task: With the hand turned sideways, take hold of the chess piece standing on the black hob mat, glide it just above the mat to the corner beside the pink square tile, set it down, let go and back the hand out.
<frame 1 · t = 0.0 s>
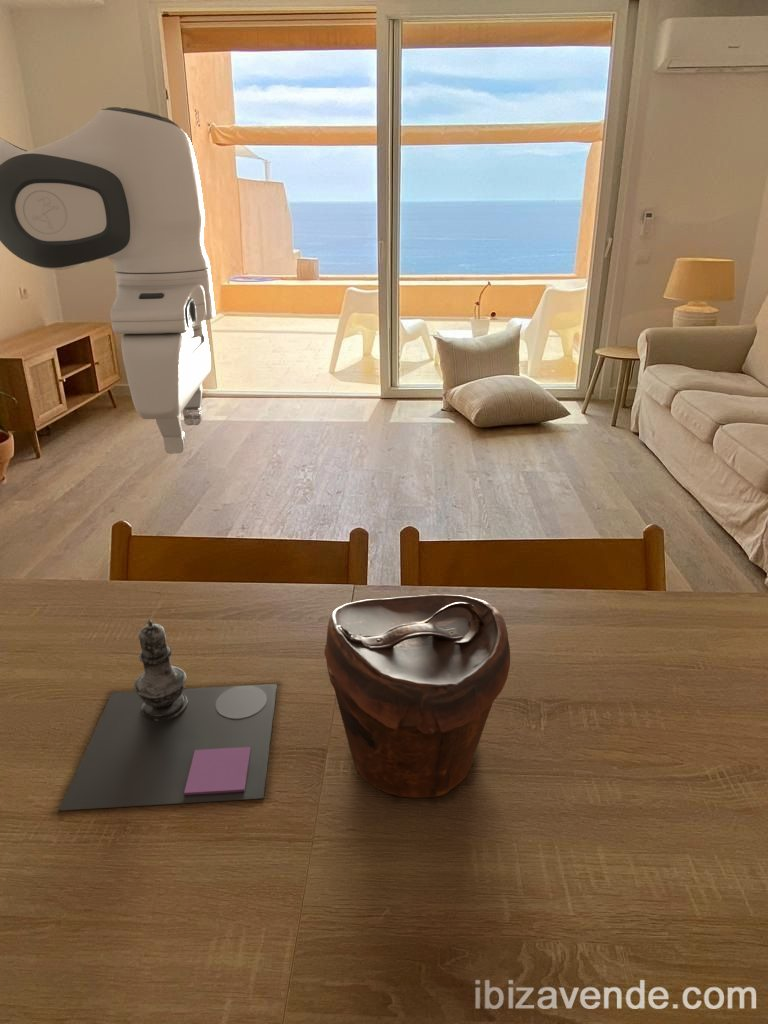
hand: (185, 436, 73), 32 cm above the table, tool pointing down, fingers open, 8 cm apart
brown pot: (417, 754, 75), on the table
pink square tile: (218, 771, 73), resting on hob mat
chess piece: (164, 706, 82), resting on hob mat
hob mat: (180, 740, 77), on the table
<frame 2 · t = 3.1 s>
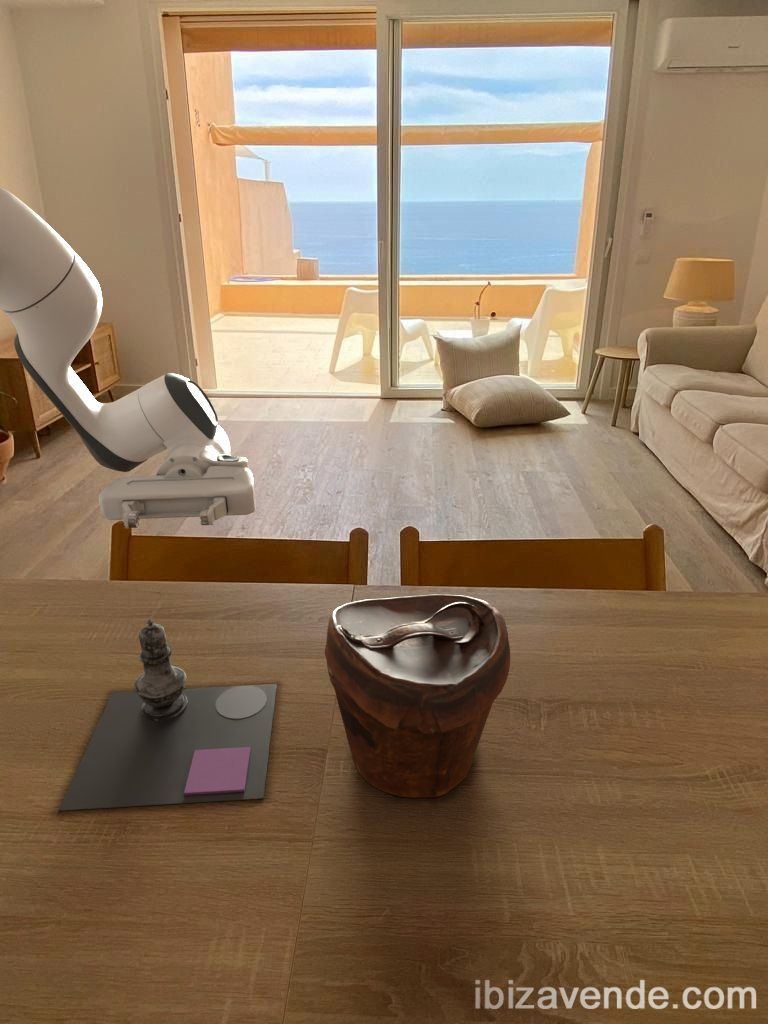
hand: (168, 521, 87), 18 cm above the table, tool horizontal, fingers open, 8 cm apart
nothing on the table moved.
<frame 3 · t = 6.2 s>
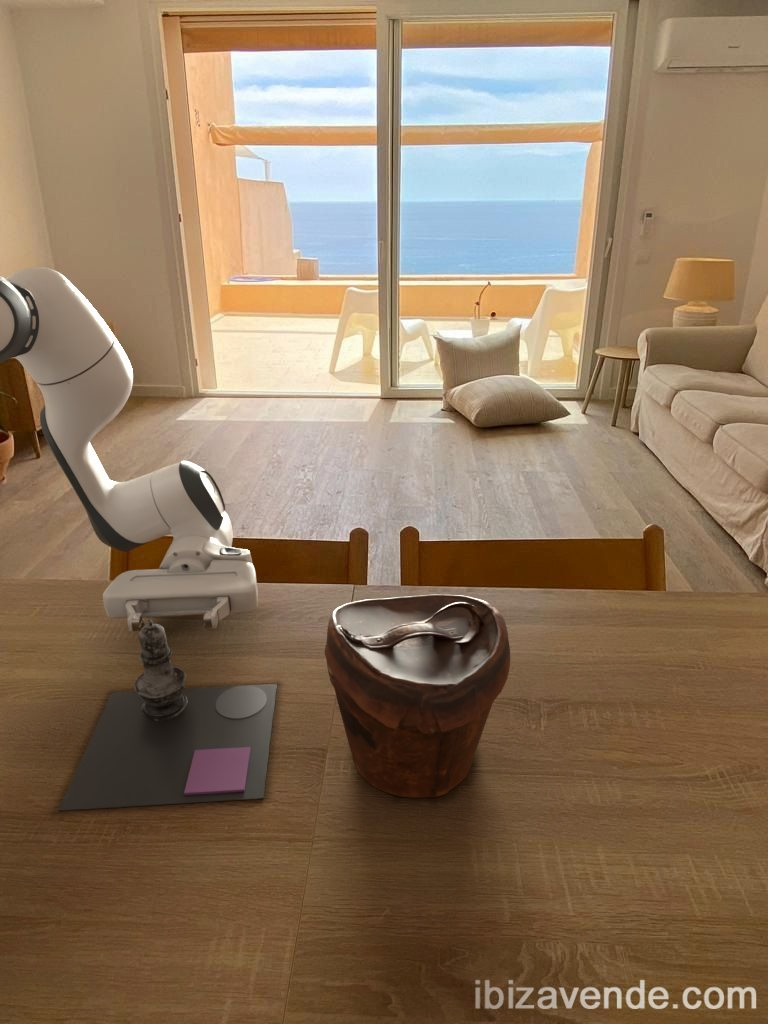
hand: (171, 624, 87), 6 cm above the table, tool horizontal, fingers open, 8 cm apart
nothing on the table moved.
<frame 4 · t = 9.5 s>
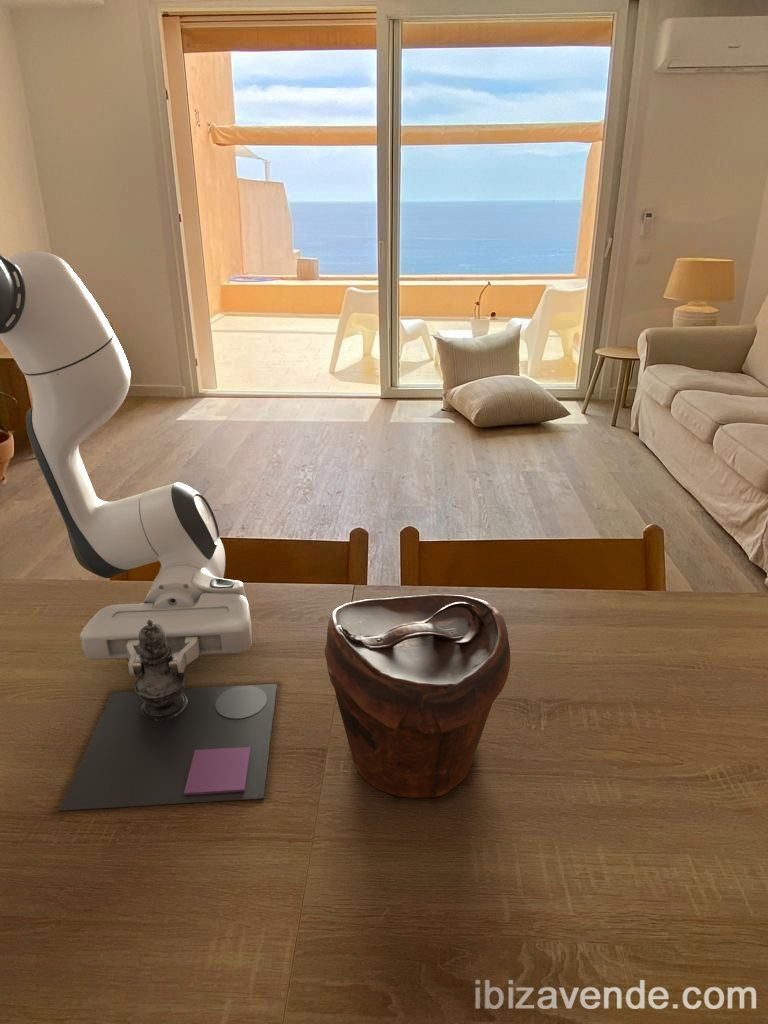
hand: (155, 669, 79), 6 cm above the table, tool horizontal, fingers closed on chess piece, 3 cm apart
chess piece: (164, 706, 82), resting on hob mat, touching gripper
everything else where it was.
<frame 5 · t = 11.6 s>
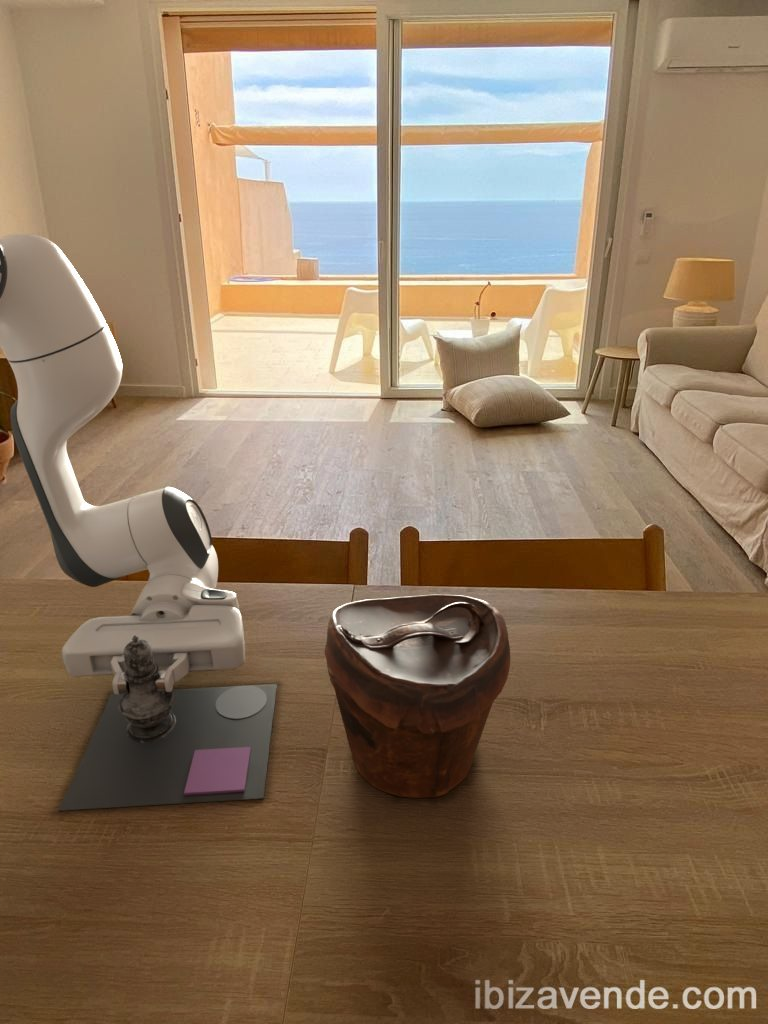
hand: (141, 688, 74), 7 cm above the table, tool horizontal, fingers closed on chess piece, 3 cm apart
chess piece: (151, 727, 77), point 1 cm above the table, touching gripper
everything else where it was.
when the fingers open (6 cm above the table, at t = 13.8 s): chess piece stays where it is, resting on hob mat.
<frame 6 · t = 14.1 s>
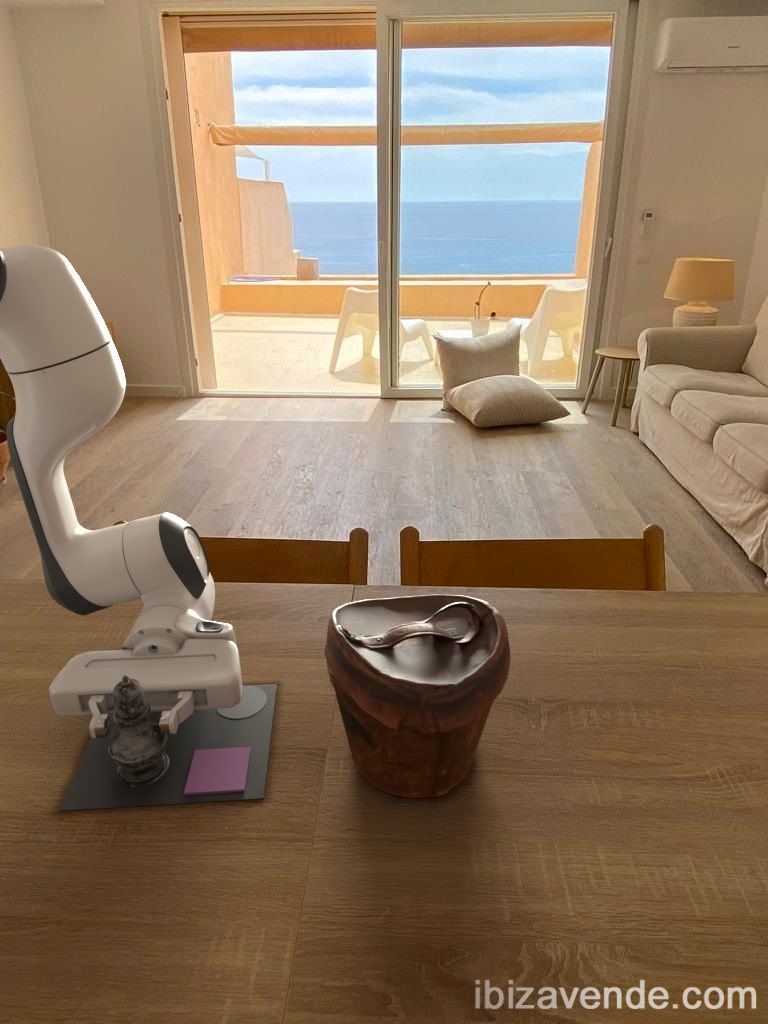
hand: (132, 731, 70), 6 cm above the table, tool horizontal, fingers open, 5 cm apart
chess piece: (143, 769, 73), resting on hob mat
everything else where it was.
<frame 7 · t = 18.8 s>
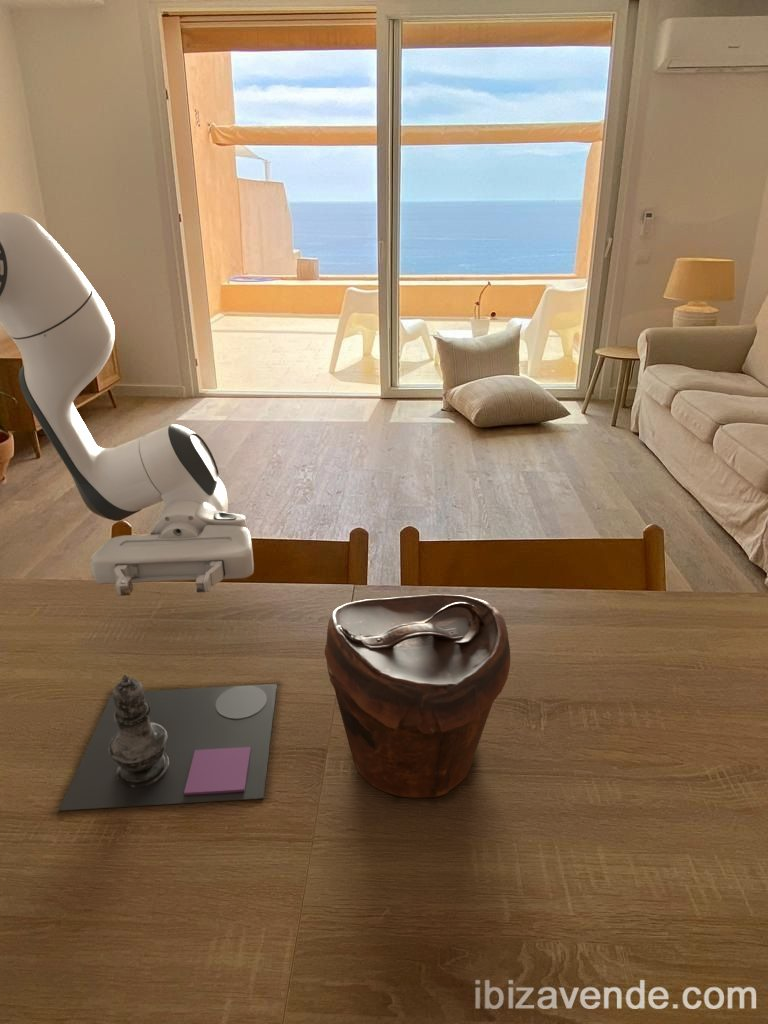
hand: (162, 589, 83), 12 cm above the table, tool horizontal, fingers open, 8 cm apart
nothing on the table moved.
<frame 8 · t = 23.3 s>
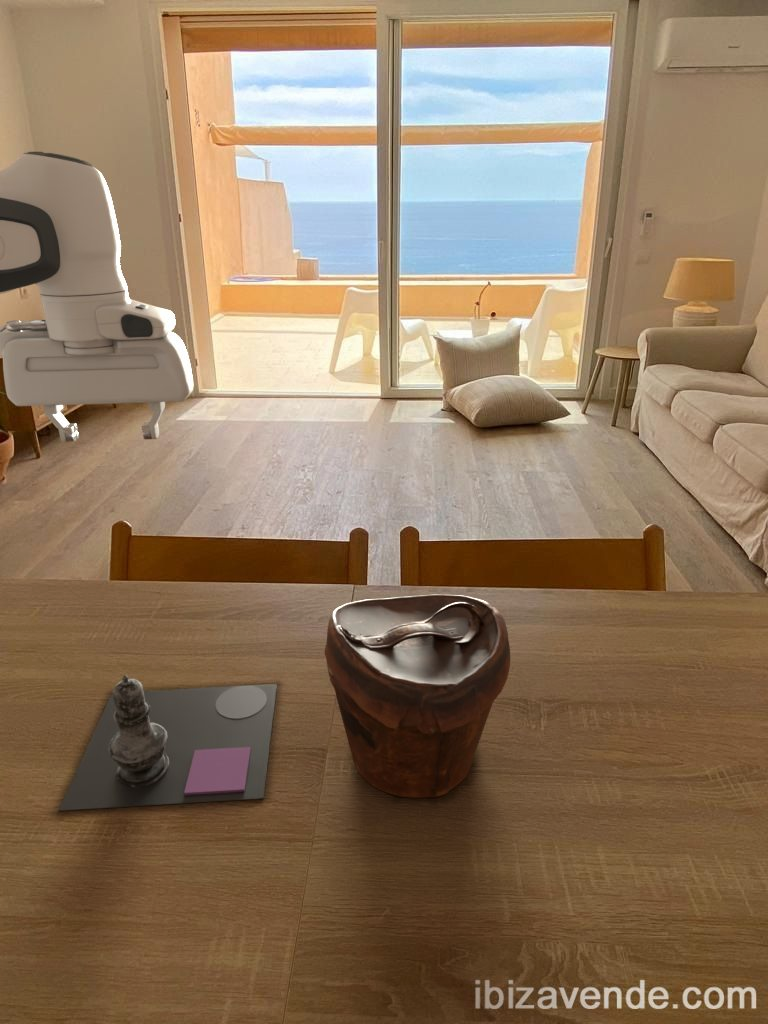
hand: (111, 439, 82), 29 cm above the table, tool pointing down, fingers open, 8 cm apart
nothing on the table moved.
at the end: chess piece inside the target area (0.4 cm from its centre), resting on hob mat; chess piece tilted 0°; chess piece moved 9.9 cm from its start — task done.
